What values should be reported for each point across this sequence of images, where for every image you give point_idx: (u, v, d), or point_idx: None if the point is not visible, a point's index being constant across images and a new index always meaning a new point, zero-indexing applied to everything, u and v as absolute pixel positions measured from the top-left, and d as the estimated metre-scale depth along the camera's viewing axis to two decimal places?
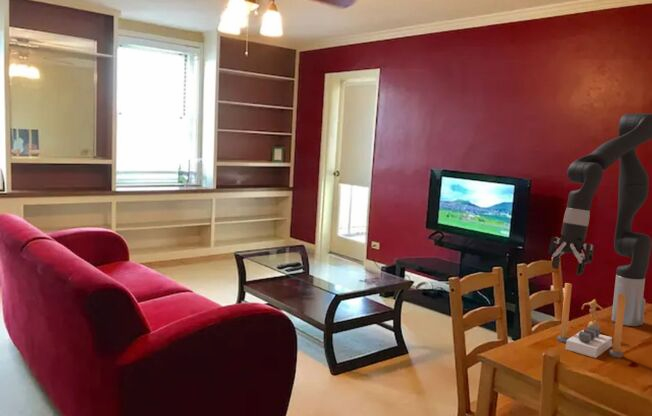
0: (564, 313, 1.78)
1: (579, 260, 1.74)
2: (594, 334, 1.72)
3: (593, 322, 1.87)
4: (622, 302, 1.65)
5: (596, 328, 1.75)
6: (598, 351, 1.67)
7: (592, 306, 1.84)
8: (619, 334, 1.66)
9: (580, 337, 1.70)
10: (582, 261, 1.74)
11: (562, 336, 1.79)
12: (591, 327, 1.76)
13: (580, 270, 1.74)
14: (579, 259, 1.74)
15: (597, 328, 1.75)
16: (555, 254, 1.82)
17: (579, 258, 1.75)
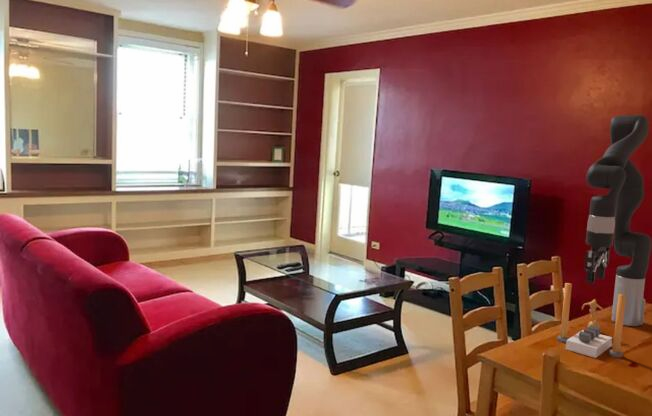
0: (564, 313, 1.78)
1: (605, 265, 1.73)
2: (594, 334, 1.72)
3: (593, 322, 1.87)
4: (622, 302, 1.65)
5: (596, 328, 1.75)
6: (598, 351, 1.67)
7: (592, 306, 1.84)
8: (619, 334, 1.66)
9: (580, 337, 1.70)
10: None
11: (562, 336, 1.79)
12: (591, 327, 1.76)
13: None
14: (605, 264, 1.73)
15: (597, 328, 1.75)
16: (595, 269, 1.67)
17: (605, 263, 1.73)
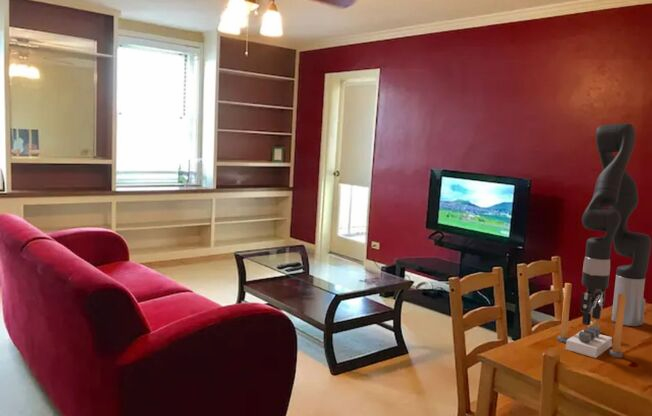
0: (564, 313, 1.78)
1: (601, 305, 1.74)
2: (594, 334, 1.72)
3: (593, 322, 1.87)
4: (622, 302, 1.65)
5: (596, 328, 1.75)
6: (598, 351, 1.67)
7: None
8: (619, 334, 1.66)
9: (580, 337, 1.70)
10: None
11: (562, 336, 1.79)
12: (591, 327, 1.76)
13: (599, 313, 1.76)
14: (601, 304, 1.74)
15: (597, 328, 1.75)
16: (591, 310, 1.68)
17: None
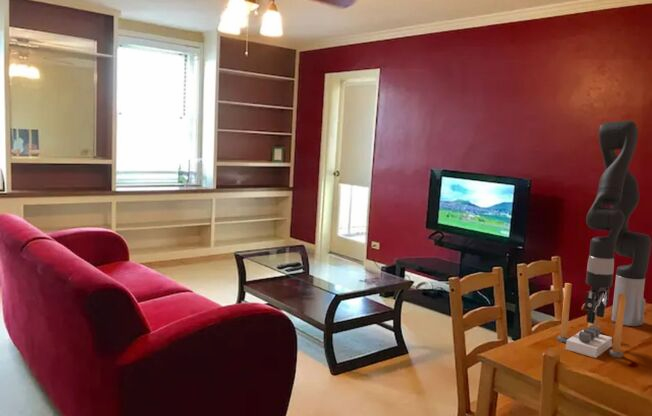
0: (564, 313, 1.78)
1: (605, 303, 1.77)
2: (594, 334, 1.72)
3: None
4: (622, 302, 1.65)
5: (596, 328, 1.75)
6: (598, 351, 1.67)
7: None
8: (619, 334, 1.66)
9: (580, 337, 1.70)
10: None
11: (562, 336, 1.79)
12: (591, 327, 1.76)
13: None
14: (605, 302, 1.77)
15: (597, 328, 1.75)
16: (595, 309, 1.71)
17: (605, 302, 1.77)
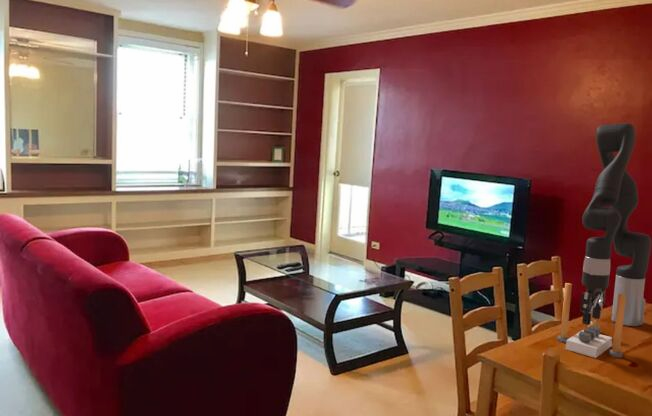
0: (564, 313, 1.78)
1: (601, 305, 1.74)
2: (594, 334, 1.72)
3: (593, 322, 1.87)
4: (622, 302, 1.65)
5: (596, 328, 1.75)
6: (598, 351, 1.67)
7: None
8: (619, 334, 1.66)
9: (580, 337, 1.70)
10: None
11: (562, 336, 1.79)
12: (591, 327, 1.76)
13: (599, 313, 1.76)
14: (601, 304, 1.74)
15: (597, 328, 1.75)
16: (591, 310, 1.68)
17: (601, 303, 1.74)
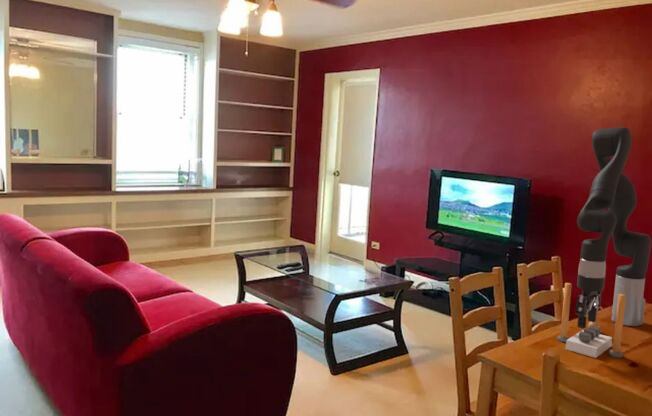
0: (564, 313, 1.78)
1: (597, 308, 1.72)
2: (594, 334, 1.72)
3: (593, 322, 1.87)
4: (622, 302, 1.65)
5: (596, 328, 1.75)
6: (598, 351, 1.67)
7: None
8: (619, 334, 1.66)
9: (580, 337, 1.70)
10: None
11: (562, 336, 1.79)
12: (591, 327, 1.76)
13: None
14: (597, 307, 1.72)
15: (597, 328, 1.75)
16: (587, 313, 1.65)
17: (597, 306, 1.71)
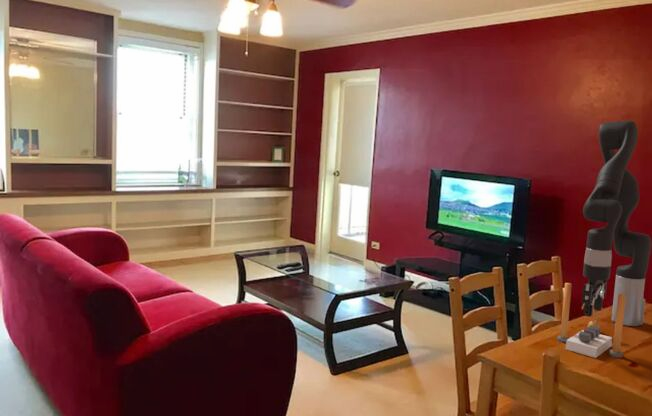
0: (564, 313, 1.78)
1: (603, 296, 1.74)
2: (594, 334, 1.72)
3: (593, 322, 1.87)
4: (622, 302, 1.65)
5: (596, 328, 1.75)
6: (598, 351, 1.67)
7: None
8: (619, 334, 1.66)
9: (580, 337, 1.70)
10: None
11: (562, 336, 1.79)
12: (591, 327, 1.76)
13: None
14: (602, 295, 1.74)
15: (597, 328, 1.75)
16: (593, 302, 1.68)
17: (602, 294, 1.74)
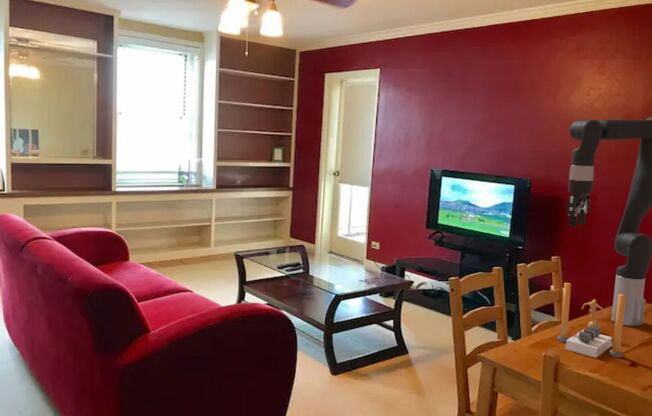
0: (564, 313, 1.78)
1: (586, 211, 1.90)
2: (594, 334, 1.72)
3: (593, 322, 1.87)
4: (622, 302, 1.65)
5: (596, 328, 1.75)
6: (598, 351, 1.67)
7: (592, 306, 1.84)
8: (619, 334, 1.66)
9: (580, 337, 1.70)
10: None
11: (562, 336, 1.79)
12: (591, 327, 1.76)
13: (584, 220, 1.92)
14: (586, 210, 1.90)
15: (597, 328, 1.75)
16: (576, 213, 1.84)
17: (586, 209, 1.90)
